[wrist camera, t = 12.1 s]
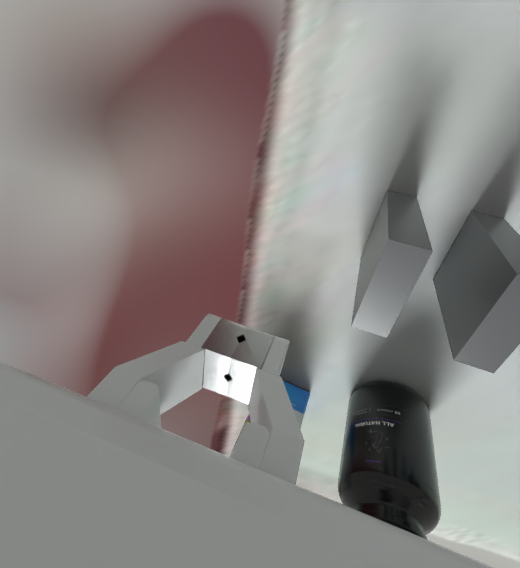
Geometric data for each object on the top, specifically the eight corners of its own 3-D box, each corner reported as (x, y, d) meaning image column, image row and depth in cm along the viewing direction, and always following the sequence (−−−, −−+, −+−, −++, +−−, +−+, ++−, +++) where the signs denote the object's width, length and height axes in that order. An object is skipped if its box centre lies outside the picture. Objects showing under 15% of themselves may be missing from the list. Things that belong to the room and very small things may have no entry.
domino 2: (503, 218, 18) (568, 288, 12) (460, 287, 21) (493, 373, 15) (471, 210, 19) (517, 274, 12) (433, 279, 22) (453, 359, 15)
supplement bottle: (378, 366, 27) (374, 521, 17) (447, 408, 27) (482, 588, 17) (334, 403, 31) (311, 546, 21) (394, 440, 31) (398, 600, 21)
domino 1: (416, 197, 19) (432, 251, 13) (386, 265, 22) (386, 337, 16) (387, 190, 20) (388, 239, 13) (360, 258, 22) (351, 326, 16)
